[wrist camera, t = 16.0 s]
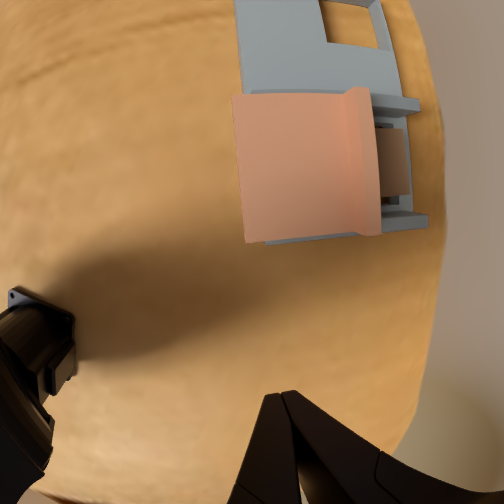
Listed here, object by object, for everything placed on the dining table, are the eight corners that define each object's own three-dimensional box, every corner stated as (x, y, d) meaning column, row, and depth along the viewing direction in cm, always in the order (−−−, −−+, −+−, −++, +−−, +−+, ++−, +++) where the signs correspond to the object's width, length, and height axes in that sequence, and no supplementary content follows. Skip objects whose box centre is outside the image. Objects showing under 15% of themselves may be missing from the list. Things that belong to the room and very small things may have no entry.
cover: (244, 241, 15) (249, 250, 13) (231, 98, 14) (233, 85, 12) (362, 228, 16) (381, 235, 14) (351, 97, 14) (368, 87, 12)
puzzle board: (255, 232, 20) (266, 245, 15) (232, -9, 16) (236, -43, 11) (401, 218, 21) (437, 226, 16) (370, 3, 17) (394, -21, 12)
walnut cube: (327, 196, 20) (352, 200, 16) (320, 138, 19) (344, 128, 15) (378, 191, 20) (410, 194, 16) (372, 136, 19) (402, 128, 15)
